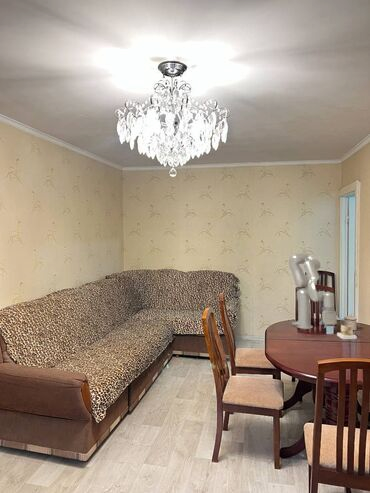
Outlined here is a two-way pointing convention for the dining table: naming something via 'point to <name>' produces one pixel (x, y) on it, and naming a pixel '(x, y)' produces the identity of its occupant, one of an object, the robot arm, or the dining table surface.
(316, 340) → the dining table surface
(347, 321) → the teacup with lid
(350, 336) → the plinth
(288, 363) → the dining table surface
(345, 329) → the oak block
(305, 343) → the dining table surface
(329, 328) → the blue block
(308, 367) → the dining table surface
